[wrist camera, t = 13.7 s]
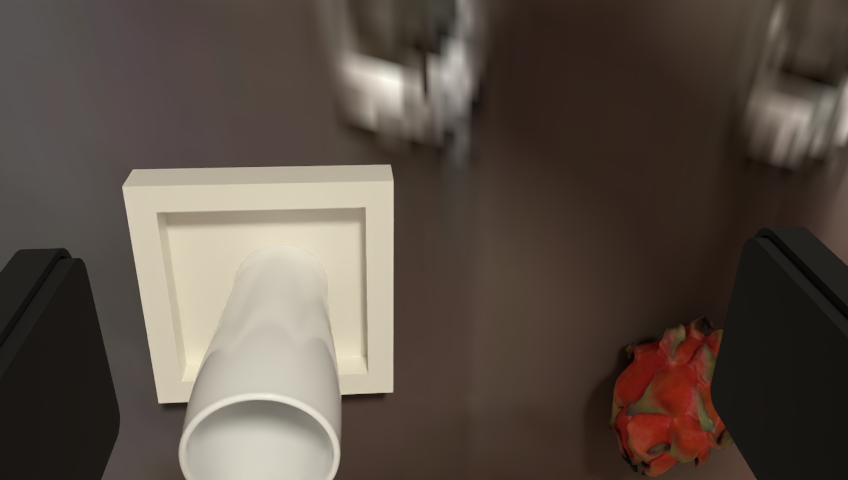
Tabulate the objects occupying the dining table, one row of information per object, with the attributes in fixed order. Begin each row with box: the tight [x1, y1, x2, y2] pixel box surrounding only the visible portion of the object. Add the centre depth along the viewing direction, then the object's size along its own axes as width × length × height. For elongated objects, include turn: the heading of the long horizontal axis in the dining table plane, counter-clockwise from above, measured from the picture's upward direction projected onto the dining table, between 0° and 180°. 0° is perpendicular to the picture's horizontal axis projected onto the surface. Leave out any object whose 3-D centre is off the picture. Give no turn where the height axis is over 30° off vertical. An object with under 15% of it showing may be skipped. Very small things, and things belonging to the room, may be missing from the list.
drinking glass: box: [179, 243, 342, 480], centre depth 39 cm, size 7×7×15 cm
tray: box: [122, 165, 393, 403], centre depth 45 cm, size 14×14×2 cm
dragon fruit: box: [608, 315, 734, 477], centre depth 49 cm, size 8×8×12 cm
